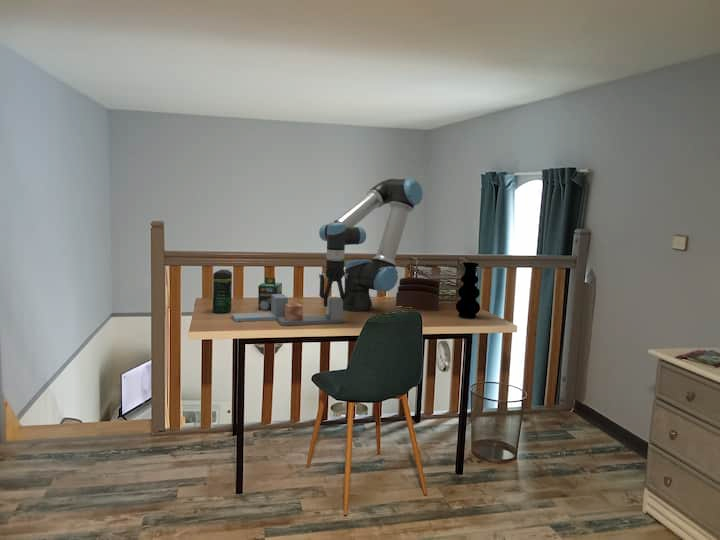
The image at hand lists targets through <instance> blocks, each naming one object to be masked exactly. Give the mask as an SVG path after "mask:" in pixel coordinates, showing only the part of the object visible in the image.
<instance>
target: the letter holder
mask: <svg viewBox="0 0 720 540" xmlns="http://www.w3.org/2000/svg"><path fill="white" fill-rule="evenodd" d="M398 284H399V285H398V287H397V291H396V294H395V307H396V306H402V307H412V308H415V309H414V310H422V311H423V310H425V311H426V310H427V311H436V312H437V309H438V307H439V295H440V294H439V293H440V281H439V280H436V279H431V278H424V277H402V278H400V279H399V283H398Z"/></svg>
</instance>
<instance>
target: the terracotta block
mask: <svg viewBox="0 0 720 540" xmlns="http://www.w3.org/2000/svg"><path fill="white" fill-rule="evenodd" d="M303 312H304V306H303V305H302V304H300V303H288V304H285V319H287V320H288V321H302V320H303V316H304V314H303Z"/></svg>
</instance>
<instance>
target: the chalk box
mask: <svg viewBox="0 0 720 540" xmlns="http://www.w3.org/2000/svg"><path fill="white" fill-rule="evenodd" d="M269 280H271V282H270V281H269ZM257 287H258V292H257V293H258V295H257V296H258V299H257V300H258V302H257V303H258V304H257V305H258V311H261V310H263V311H271V294H283V283H282V282H276V278H275V276H274V277H271V276H270V277H269V276H265V278H264V282H262V283H260V284H259V285H258V286H257Z"/></svg>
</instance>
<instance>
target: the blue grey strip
mask: <svg viewBox="0 0 720 540" xmlns="http://www.w3.org/2000/svg"><path fill="white" fill-rule="evenodd" d="M288 302H289V297H287V295H285V294H283V293H282V294H271V310H270V312H268V311H267V312H249V313H248V312H247V313H245V312H244V313H231V318H232V320H233V319H234V320H233V321H234V323H239V322H238V321H247V322H262V321H263V322H264V321H266V322H267V321H268V322H270V321H277V317H285V304H289V303H288Z"/></svg>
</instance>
